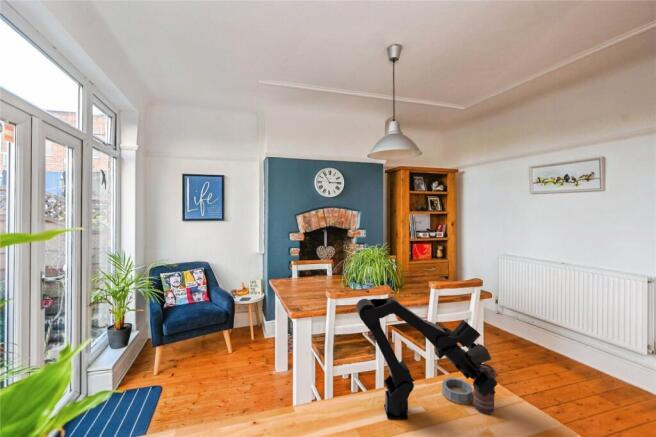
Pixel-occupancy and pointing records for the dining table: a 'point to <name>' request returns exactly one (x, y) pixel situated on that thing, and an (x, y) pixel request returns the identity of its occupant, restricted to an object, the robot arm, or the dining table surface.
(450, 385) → the segmented gray ring
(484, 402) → the can
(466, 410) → the dining table surface
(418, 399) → the dining table surface
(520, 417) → the dining table surface
